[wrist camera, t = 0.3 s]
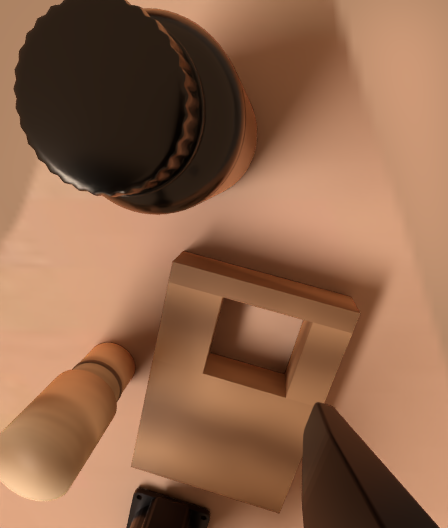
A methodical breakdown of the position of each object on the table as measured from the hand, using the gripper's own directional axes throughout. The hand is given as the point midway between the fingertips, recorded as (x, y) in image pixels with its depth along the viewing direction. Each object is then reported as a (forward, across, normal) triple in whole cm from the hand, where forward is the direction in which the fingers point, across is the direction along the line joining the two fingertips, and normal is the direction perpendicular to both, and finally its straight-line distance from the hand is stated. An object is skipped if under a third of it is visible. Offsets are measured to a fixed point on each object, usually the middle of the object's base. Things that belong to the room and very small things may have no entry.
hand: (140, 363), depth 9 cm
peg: (+14, +6, +11) cm, 18 cm away
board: (+14, -3, +9) cm, 17 cm away
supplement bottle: (+14, +3, -6) cm, 15 cm away
